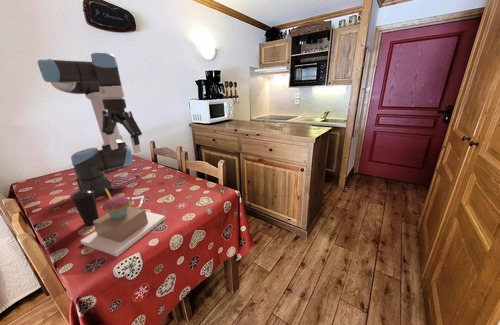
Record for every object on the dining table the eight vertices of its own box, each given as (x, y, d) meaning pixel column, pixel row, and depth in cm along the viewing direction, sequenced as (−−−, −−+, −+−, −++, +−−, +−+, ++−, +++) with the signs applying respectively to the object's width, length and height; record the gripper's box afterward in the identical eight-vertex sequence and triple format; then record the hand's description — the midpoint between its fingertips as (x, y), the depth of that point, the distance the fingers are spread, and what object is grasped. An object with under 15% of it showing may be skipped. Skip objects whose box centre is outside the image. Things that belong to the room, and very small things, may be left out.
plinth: (81, 243, 73) (75, 226, 70) (134, 211, 92) (130, 196, 90) (117, 256, 67) (111, 238, 64) (165, 218, 86) (162, 203, 83)
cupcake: (104, 224, 71) (94, 194, 67) (107, 212, 78) (99, 184, 74) (132, 217, 74) (124, 188, 70) (133, 206, 81) (126, 179, 77)
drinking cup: (88, 217, 88) (73, 175, 82) (107, 216, 89) (93, 174, 82) (76, 228, 81) (58, 183, 75) (96, 227, 82) (80, 182, 75)
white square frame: (118, 201, 102) (116, 193, 100) (144, 197, 105) (142, 189, 104) (111, 214, 91) (109, 205, 90) (141, 209, 95) (139, 200, 93)
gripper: (82, 98, 80) (97, 150, 88) (127, 99, 71) (139, 156, 79) (102, 97, 87) (114, 145, 94) (144, 98, 78) (154, 151, 85)
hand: (125, 150), depth 86 cm, fingers open, 13 cm apart
